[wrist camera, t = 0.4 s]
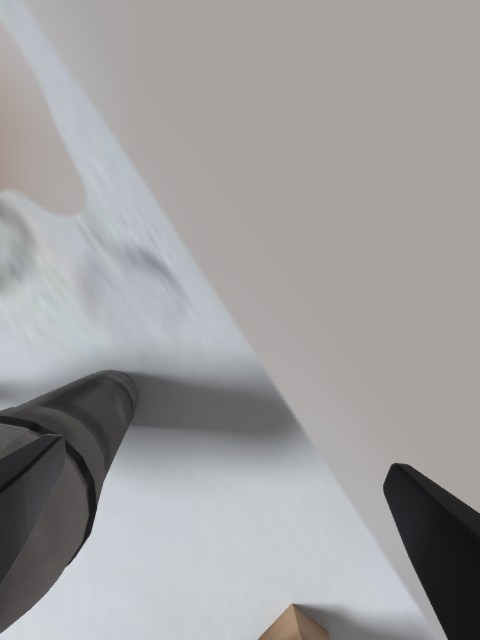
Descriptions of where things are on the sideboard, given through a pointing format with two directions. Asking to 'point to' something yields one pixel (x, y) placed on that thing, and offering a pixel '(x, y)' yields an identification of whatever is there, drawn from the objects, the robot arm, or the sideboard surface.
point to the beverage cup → (64, 476)
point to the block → (295, 627)
